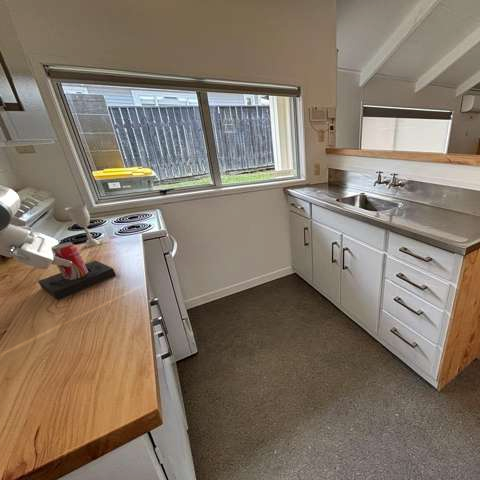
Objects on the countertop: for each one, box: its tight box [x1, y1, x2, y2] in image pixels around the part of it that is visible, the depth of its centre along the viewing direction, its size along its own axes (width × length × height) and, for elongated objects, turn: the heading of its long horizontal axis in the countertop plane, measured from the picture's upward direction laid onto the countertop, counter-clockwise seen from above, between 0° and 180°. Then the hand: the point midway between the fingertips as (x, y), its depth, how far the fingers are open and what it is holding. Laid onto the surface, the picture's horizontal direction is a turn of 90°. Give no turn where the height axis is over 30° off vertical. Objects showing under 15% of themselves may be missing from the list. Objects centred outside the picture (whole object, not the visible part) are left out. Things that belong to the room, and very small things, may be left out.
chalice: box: [65, 204, 100, 248], centre depth 116 cm, size 7×7×18 cm
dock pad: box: [37, 260, 117, 301], centre depth 88 cm, size 16×14×3 cm
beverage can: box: [51, 241, 88, 280], centre depth 85 cm, size 6×6×12 cm
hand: (71, 260), depth 85 cm, fingers closed on beverage can, 6 cm apart
